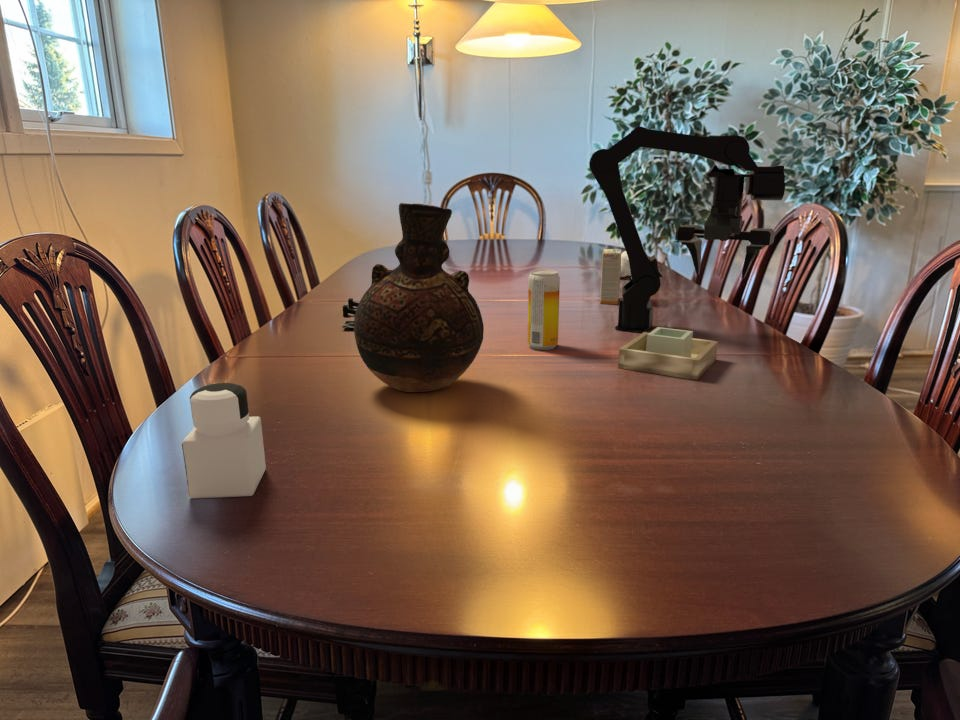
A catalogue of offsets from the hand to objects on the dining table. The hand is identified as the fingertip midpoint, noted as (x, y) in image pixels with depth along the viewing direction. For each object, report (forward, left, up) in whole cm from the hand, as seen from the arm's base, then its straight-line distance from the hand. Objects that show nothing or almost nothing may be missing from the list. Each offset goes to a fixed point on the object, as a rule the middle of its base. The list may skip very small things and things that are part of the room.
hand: (720, 276), depth 144 cm
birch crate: (-2, -28, -12) cm, 30 cm away
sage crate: (-2, -28, -11) cm, 30 cm away
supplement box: (-31, +19, -12) cm, 38 cm away
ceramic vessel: (-34, -61, -12) cm, 71 cm away
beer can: (-27, -29, -12) cm, 41 cm away
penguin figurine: (-40, +52, -12) cm, 67 cm away
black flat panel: (-74, -24, -13) cm, 79 cm away
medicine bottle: (-33, -101, -12) cm, 107 cm away
